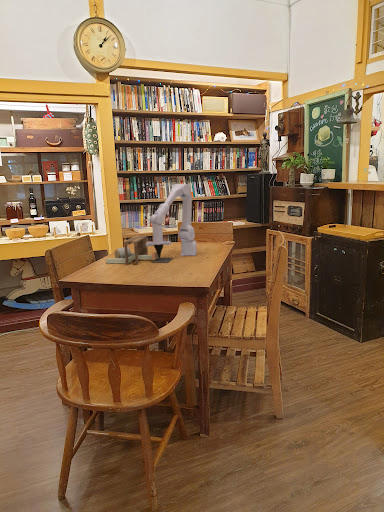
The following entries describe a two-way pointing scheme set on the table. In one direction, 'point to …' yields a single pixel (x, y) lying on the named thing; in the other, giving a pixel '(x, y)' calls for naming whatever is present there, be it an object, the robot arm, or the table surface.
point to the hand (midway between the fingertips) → (159, 257)
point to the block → (132, 258)
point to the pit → (162, 260)
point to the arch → (137, 247)
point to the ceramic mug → (122, 252)
